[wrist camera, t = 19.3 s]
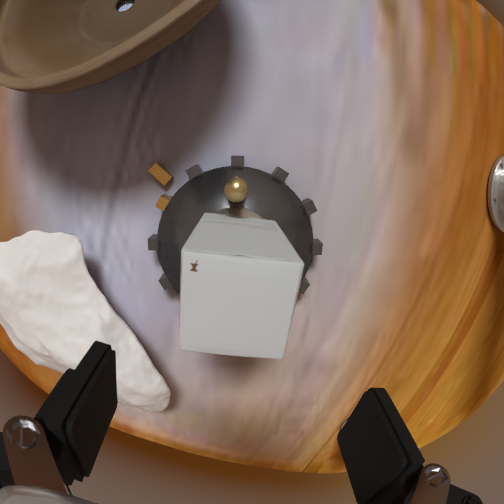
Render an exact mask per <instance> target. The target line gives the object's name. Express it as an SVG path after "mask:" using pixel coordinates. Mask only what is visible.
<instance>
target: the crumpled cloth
mask: <svg viewBox="0 0 504 504" xmlns="http://www.w3.org/2000/svg"><path fill="white" fill-rule="evenodd" d="M0 324H1V325H2V326H3V328H4V329H5V331H6V333H7V335H8V336H9V338H10V339H11V341H12V342H13V344H14V345H15V347H16V348H17V349H19V350H20V351H21V352H22V353H24V354H25V355H27V356H28V357H29V358H30V359H31V360H32V361H33V362H34V363H35V364H37V365H42V366H46V367H49V368H52V369H54V370H56V371H58V372H60V373H62V374H64V373H65V371H66V370H67V369H69V368H71V369H74V370H75V369H76V367H77V366H78V364H79V363H80V361H81V360H82V358H83V357H84V355H85V354H86V353H87V351H88V350H89V348H90V347H91V346H92V344H93V343H94V342H95V341H100V342H103V343H106V344H109V345H111V348H112V350H115V352H116V381H117V399H118V402H120V403H123V404H125V405H128V406H133V407H137V408H141V409H143V410H145V411H148V412H150V413H155V412H161V411H163V410H164V409H165V408H166V407H167V406H168V404H169V402H170V395H171V392H170V389H169V387H168V386H167V384H166V382H165V380H164V378H163V377H162V376H161V375H160V374H159V372H158V371H157V369H156V368H155V366H154V365H153V363H152V361H151V360H150V358H149V357H148V355H147V353H146V351H145V349H144V347H143V346H142V345H141V344H140V342H139V341H138V339H137V337H136V336H135V334H134V333H133V332H132V330H131V329H130V328H129V326H128V325H127V324H126V323H125V322H124V320H123V319H122V318H121V317H120V316H119V315H118V314H117V313H116V312H115V311H114V310H113V308H112V307H111V306H110V304H109V303H108V301H107V299H106V297H105V296H104V295H103V294H102V293H101V291H100V290H99V289H98V287H97V285H96V283H95V282H94V280H93V279H92V277H91V276H90V274H89V272H88V269H87V265H86V263H85V260H84V253H83V247H82V243H81V241H80V240H79V238H78V237H76V236H74V235H69V234H66V233H62V232H58V233H47V232H42V231H38V230H35V231H28V232H27V233H25V234H24V235H22V236H20V237H15V238H13V239H11V240H10V241H7V242H0Z"/></svg>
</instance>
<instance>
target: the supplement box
mask: <svg viewBox="0 0 504 504" xmlns="http://www.w3.org/2000/svg"><path fill="white" fill-rule="evenodd" d="M303 269H304V262H303V261H302V259H301V258H300V257H299V255H298V254H297V252H296V251H295V249H294V248H293V246H292V245H291V243H290V242H289V240H288V239H287V237H286V236H285V234H284V233H283V231H282V230H281V228H280V227H279V226H278V224H277V223H276V221H273V220H266V219H259V218H251V217H242V216H233V215H223V214H214V213H204V215H203V216H202V218H201V219H200V221H199V222H198V224H197V225H196V227H195V229H194V230H193V232H192V233H191V235H190V236H189V238H188V240H187V241H186V243H185V244H184V246H183V248H182V249H181V274H180V350H183V351H192V352H200V353H210V354H220V355H230V356H242V357H255V358H270V359H283V355H284V351H285V346H286V342H287V337H288V333H289V329H290V325H291V321H292V317H293V313H294V308H295V304H296V300H297V296H298V291H299V287H300V283H301V278H302V274H303Z"/></svg>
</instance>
